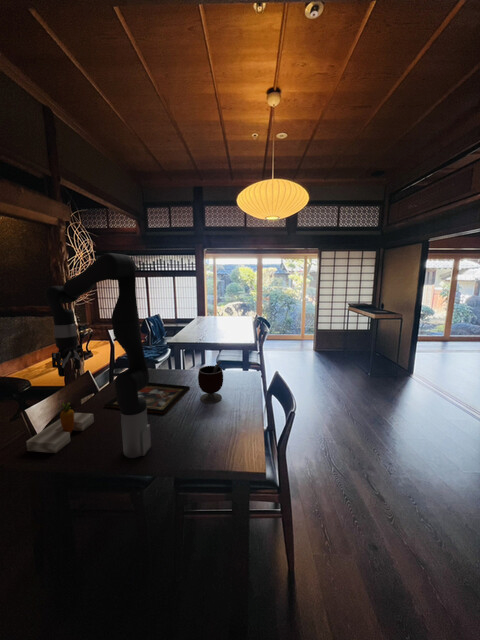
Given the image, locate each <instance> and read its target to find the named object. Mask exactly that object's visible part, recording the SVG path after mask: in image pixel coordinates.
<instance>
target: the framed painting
mask: <svg viewBox="0 0 480 640" xmlns="http://www.w3.org/2000/svg"><path fill="white" fill-rule="evenodd" d="M189 390H190V386H189V385H181V384H168V383H160V382H159V383H158V382H148V384H147V386H146V387H144V388H143V389H141V390H140V391H138V397H139V398H143V399H145V400H146V405H147V413H150V414H157V415H166V414H167V413H168V412H169V411H170V410H171V409H172V408H173V407H174V406H175V405H177V403H178V402H179V401H180V400H181V398H182V397H184V396H185V395H186V394H187V393H188V392H189ZM103 406H104V408H108V409H109V408H111V409H119V410H120V407H119V405H118V402H117V396H115V397H114V398H112V399H111V400H109V401H108V402H106V403H104V404H103Z"/></svg>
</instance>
